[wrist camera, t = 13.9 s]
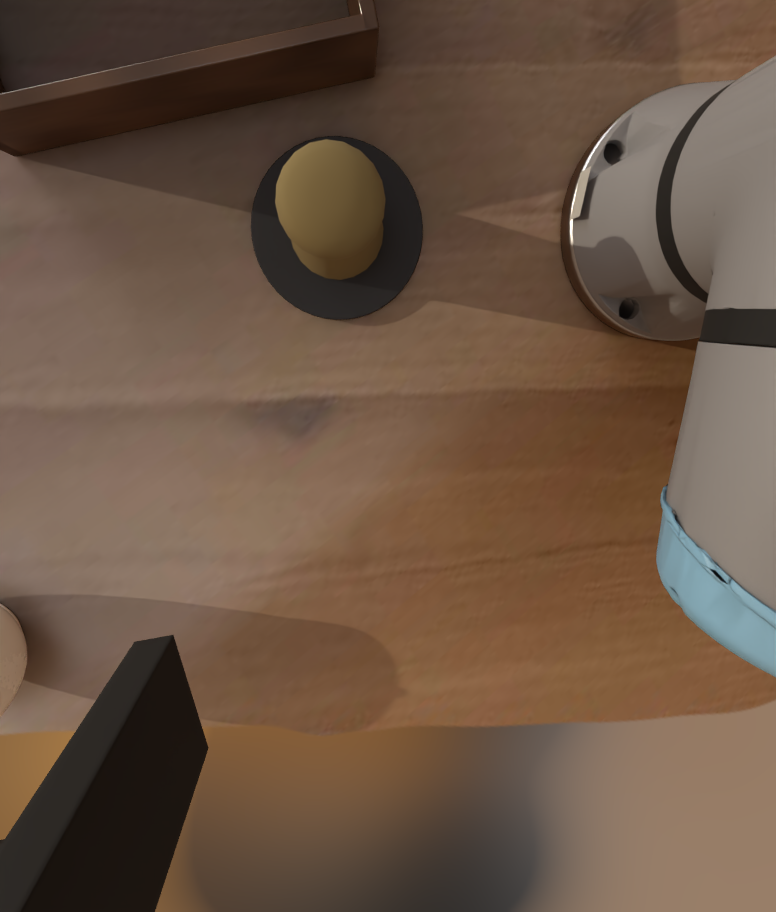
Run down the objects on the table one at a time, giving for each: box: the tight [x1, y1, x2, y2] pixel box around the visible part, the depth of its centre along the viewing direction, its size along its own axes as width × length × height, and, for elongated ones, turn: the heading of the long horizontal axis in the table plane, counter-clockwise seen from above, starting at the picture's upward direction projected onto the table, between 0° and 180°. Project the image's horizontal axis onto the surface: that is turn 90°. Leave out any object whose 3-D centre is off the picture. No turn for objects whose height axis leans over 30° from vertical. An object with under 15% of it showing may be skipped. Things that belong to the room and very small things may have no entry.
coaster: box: [251, 136, 422, 320], centre depth 35 cm, size 11×11×1 cm
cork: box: [275, 139, 386, 280], centre depth 30 cm, size 6×6×11 cm
